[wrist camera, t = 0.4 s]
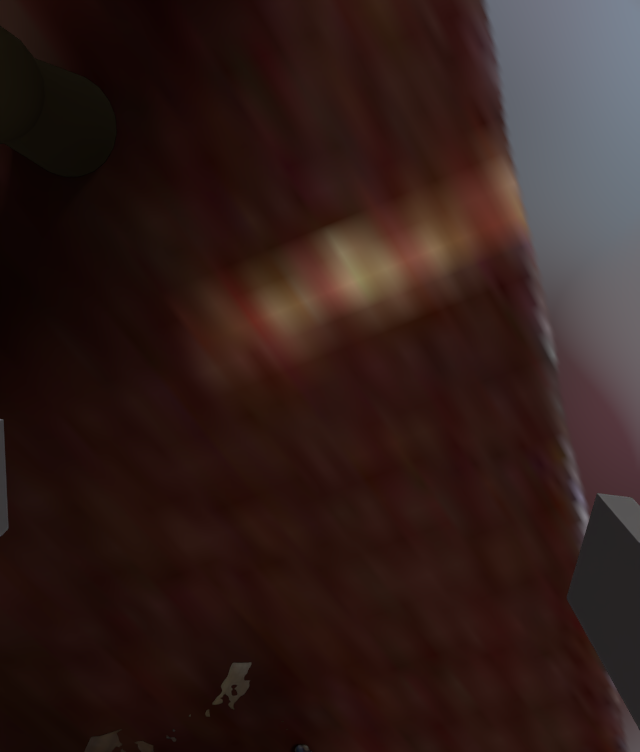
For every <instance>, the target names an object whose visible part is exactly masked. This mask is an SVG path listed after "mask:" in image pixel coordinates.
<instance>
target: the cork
mask: <svg viewBox="0 0 640 752" xmlns="http://www.w3.org/2000/svg"><path fill="white" fill-rule="evenodd" d="M116 134H117V131H116V119H115V114H114V112H113V109H112V107H111V104H110V102H109V100H108V98H107V97H106V96H105V95H104V93H103V92H102V91H101V89H100V88H99V87H98V86H97V85H95V84H94V83H92V82H91V81H90V80H88V79H87V78H85V77H83V76H80V75H78V74H75V73H72V72H70V71H67V70H64V69H62V68H59V67H56V66H54V65H51V64H49V63H46V62H43V61H41V60H38V59H35V58H34V57H33V56H32V54H31V53H30V52H29V51H28V49H27V48H26V47H25V46H24V44H23V43H22V42H21V41H20V40H19V39H18V38H16V37H15V36H14V35H12V34H11V33H10V32H8V31H7V30H5V29H4V28H2V27H1V26H0V144H3V143H4V144H6V145H7V146H9V147H10V148H12V149H14V150H15V151H17V152H18V153H20V154H22V155H23V156H25V157H26V158H28V159H30V160H31V161H33V162H34V163H36V164H38V165H39V166H41V167H42V168H44V169H45V170H47V171H49V172H51V173H54V174H57V175H60V176H64V177H80V176H83V175H86V174H88V173H91V172H94V171H95V170H96V169H97V168H99V167H100V166H101V165H102V164H103V163H104V162H106V160H107V158H108V156H109V155H110V153H111V151H112V150H113V147H114V143H115V138H116Z"/></svg>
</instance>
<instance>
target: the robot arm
mask: <svg viewBox="0 0 640 752" xmlns="http://www.w3.org/2000/svg"><path fill="white" fill-rule="evenodd" d="M7 530H8V508H7V487H6V465H5V443H4V421H3V419H0V536H1V535H3V534H4V533H5V532H6V531H7ZM567 600H568V602H569V604H570V605H571V607H572V609H573V611H574V613H575V614H576V616H577V618H578V620H579V622H580V623H581V625H582V627H583V629H584V631H585V632H586V634H587V636H588V638H589V640H590V641H591V643H592V645H593V647H594V649H595V650H596V652H597V654H598V656H599V658H600V659H601V661H602V663H603V665H604V667H605V668H606V670H607V672H608V674H609V676H610V677H611V679H612V681H613V683H614V685H615V686H616V688H617V690H618V692H619V694H620V696H621V697H622V699H623V701H624V703H625V704H626V706H627V708H628V710H629V712H630V713H631V715H632V717H633V719H634V721H635V722H636V724H637V726H638V728H639V730H640V506H639V505H638V504H637V503H636V502H635V501H634V499H633V498H631V497H622V496H615V495H607V494H599V493H597V495H596V498H595V502H594V505H593V509H592V512H591V516H590V519H589V523H588V526H587V529H586V533H585V536H584V540H583V543H582V547H581V550H580V554H579V557H578V560H577V564H576V567H575V571H574V574H573V578H572V581H571V585H570V588H569V592H568V595H567Z"/></svg>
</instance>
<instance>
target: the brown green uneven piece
mask: <svg viewBox="0 0 640 752" xmlns="http://www.w3.org/2000/svg"><path fill="white" fill-rule="evenodd" d="M250 666H251V662H250V663H233V664H232V666H231V667H230V670H229V674H228V676H227V678H226V679H225V681H224V682H223V683H222V685H221V688H222V693H221V695H219V696H218V697H217V698H216V700H215V701H214V702H213V703H212V704H213V705H215V704H220V703H223V700H222V699H220V698H221V697H223V695H224V694H226V695H227V696H229V700H230V701H231V703H229V706H230V708H232V709H234V708H233V705H234V702H235V701H237V700H238V698H239V697H240V696H242V695H244V694H245V692H246V691H247V689H248V688H249V681H244V676H245V675H246V674H247V672H248V669H249V667H250ZM235 684H236V685H237V687H236V688H235V689H236V691H237V692H238V694H237V696H232V693H231V691H232V690H233V689H232V688H231V685H235ZM205 715H206V716H210V715H209V710H207V711H206V714H205ZM190 716H191V715H189V717H190ZM282 722H283V721H282ZM121 730H122V729H121ZM286 730H287V729H286ZM119 731H120V730H118V731H115V732H111V733H108V734H105V735H102V736H96V737H91V739H90V741H89V743H88V745H87V747H86V749H85V751H84V752H112V750H113V749H114V748H115V747H116V746H117V747H120V746H121V745H122V744H121V743H120V742H119V738H118V736H117V732H119ZM173 731H174V732H175V730H174V729H173ZM166 738H167V739H170V737H168V736H167V737H166ZM171 739H172V741H173V742H175V741H176V738H175V737H173V738H171ZM135 743H136V744H138V748H139V749H140V751H141V752H154V750H153V745H150V744H147V743H145V742H144V741H139V742H135ZM121 752H125V751H124V750H122V749H121ZM295 752H312V751H311V750H310V749H309V748H308V746H307V745H305V744H304V745H302V744H299V745H297V747H295Z"/></svg>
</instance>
